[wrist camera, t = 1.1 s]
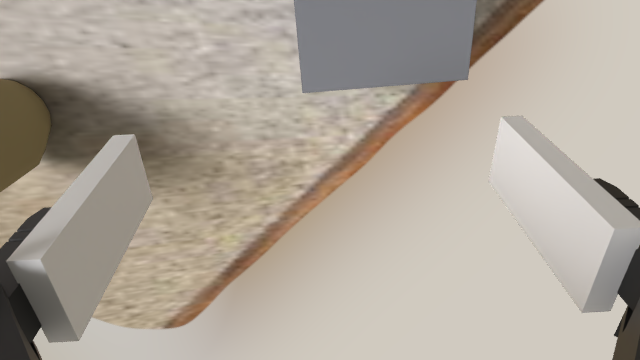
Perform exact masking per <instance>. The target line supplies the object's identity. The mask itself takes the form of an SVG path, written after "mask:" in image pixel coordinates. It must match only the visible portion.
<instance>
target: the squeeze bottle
mask: <svg viewBox="0 0 640 360" xmlns="http://www.w3.org/2000/svg"><path fill="white" fill-rule="evenodd" d="M50 129H51V118H50V113H49V111H48V109H47V107H46V105H45V104H44V102H43V100H42V99H41V98H40V97H39V96H38V95H37V94H35V93H34V92H33V91H32V90H31V89H30V88H28V87H26V86H24V85H22V84H20V83H18V82H16V81H11V80H6V79H0V192H1V191H3V190H4V189H6V188H7V187H8V186H10V185H11V184H12V183H14V182H15V181H17V180H18V179H19V178H21V177H22V176H24V175H25V174H26V173H28V172H29V171H31V170H32V169H33V168H35V167H36V166H37V165H39V163H40V161H41V158H42V156H43V154H44V151H45V148H46V145H47V141H48V137H49V133H50Z"/></svg>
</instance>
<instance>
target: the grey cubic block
mask: <svg viewBox="0 0 640 360" xmlns="http://www.w3.org/2000/svg"><path fill="white" fill-rule="evenodd" d="M476 2H477V0H294V6H295V17H296V27H297V38H298V49H299V59H300V70H301V81H302V92H303V93H310V92H322V91H334V90H347V89H359V88H372V87H384V86H396V85H409V84H421V83H433V82H446V81H458V80H468V74H469V65H470V56H471V47H472V38H473V29H474V20H475V11H476Z"/></svg>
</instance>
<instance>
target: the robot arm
mask: <svg viewBox="0 0 640 360" xmlns="http://www.w3.org/2000/svg"><path fill="white" fill-rule="evenodd" d="M489 183H490V185H491V186H492V188H493V189H494V190H495V192H496V193H497V195H498V196H499V197H500V199H501V200H502V202H503V203H504V204H505V206H506V207H507V208H508V210H509V211H510V213H511V214H512V216H513V217H514V218H515V220H516V221H517V223H518V224H519V225H520V227H521V228H522V230H523V231H524V233H525V234H526V235H527V237H528V238H529V240H530V241H531V242H532V244H533V245H534V247H535V248H536V249H537V251H538V252H539V253H540V255H541V256H542V258H543V259H544V260H545V262H546V263H547V265H548V266H549V268H550V269H551V270H552V272H553V273H554V275H555V276H556V277H557V279H558V280H559V282H560V283H561V284H562V286H563V287H564V288H565V290H566V291H567V292H568V294H569V295H570V297H571V298H572V300H573V301H574V303H575V304H576V305H577V307H578V308H579V310H580V311H581V312H582V313H585V312H604V311H611V309H612V307H613V304H614V302H615V300H616V297H617V295H618V294H619V295H620V297H621V298H622V299H623V300H624V301H625V302H626V304H627V305H628V306H627V308H626V311H625V313H624V315H623V317H622V319H621V321H620V323H619V326H618V328H617V330H616V332H615V334H614V336H616V337H618V339H617V343H616V347H615V352H614V355H613V359H612V360H640V208H639V207H638V205H637V204H636V203H635V202H634V201H633V200H631V199H629V197H628V196H627V195H625V194H624V193H623V192H622V191H621V190H620V189H618V188H617V187H615V186H614V185H612V184H610V183H607V182H606V181H603V180H602V179H600V178H599V179H592V178H591V177H590V176H589V175H588V174H587V173H586V172H585V171H583V170H582V169H581V168H580V167H579V166H578V165H577V164H576V163H574V162H573V161H572V160H571V159H570V158H569V157H568V156H567V155H566V154H564V153H563V152H562V151H561V150H560V149H559V148H558V147H557V146H555V145H554V144H553V143H552V142H551V141H550V140H549V139H548V138H546V137H545V136H544V135H543V134H542V133H541V132H540V131H539V130H538V129H536V128H535V127H534V126H533V125H532V124H531V123H530V122H529V121H527V120H526V119H525V118H524V117H523V116H504V117H501V119H500V124H499V130H498V135H497V140H496V145H495V150H494V156H493V161H492V166H491V171H490V177H489ZM152 200H153V197H152V194H151V190H150V187H149V183H148V179H147V176H146V172H145V169H144V165H143V161H142V158H141V154H140V151H139V147H138V143H137V140H136V136H135V134H130V135H113V136H112V137H111V139H110V140H109V141H108V142H107V143H106V144H105V146H104V147H103V148H102V149H101V150H100V151H99V153H98V154H97V155H96V156H95V157H94V159H93V160H92V161H91V162H90V163H89V164H88V166H87V167H86V168H85V169H84V170H83V171H82V173H81V174H80V175H79V176H78V177H77V178H76V180H75V181H74V182H73V183H72V184H71V186H70V187H69V188H68V189H67V190H66V191H65V193H64V194H63V195H62V196H61V197H60V198H59V200H58V201H57V202H56V203H55V204H54V205H53V207H50V208H43V209H41V210H40V211H38V212H37V213H35V214H34V215H32V216H31V217H29V218H28V219H27V220H26V221H25V222H24V223H23V224H22V225H21V226H20V228H19V229H18V230H17V232H15V233H14V234H13V235H12V236H11V238H10V239H9V242H6V243H5V244H4V245H3V246H2V248H1V249H0V360H42V358H41V356H40V354H39V352H38V349H37V347H36V345H35V344H34V342H33V339H34V337H35V336H36V334H37V332H38V331H39V329H40V328H42V330H43V331H44V334H45V336H46V337H47V339H48V341H49V342H67V341H79V340H80V338H81V336H82V334H83V332H84V330H85V329H86V327H87V325H88V323H89V321H90V319H91V317H92V315H93V313H94V311H95V309H96V307H97V306H98V304H99V302H100V300H101V298H102V296H103V294H104V292H105V290H106V288H107V286H108V284H109V282H110V281H111V279H112V277H113V275H114V273H115V271H116V269H117V267H118V265H119V263H120V261H121V259H122V257H123V255H124V254H125V252H126V250H127V248H128V246H129V244H130V242H131V240H132V238H133V236H134V234H135V232H136V230H137V229H138V227H139V225H140V223H141V221H142V219H143V217H144V215H145V213H146V211H147V209H148V207H149V205H150V204H151V202H152Z"/></svg>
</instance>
